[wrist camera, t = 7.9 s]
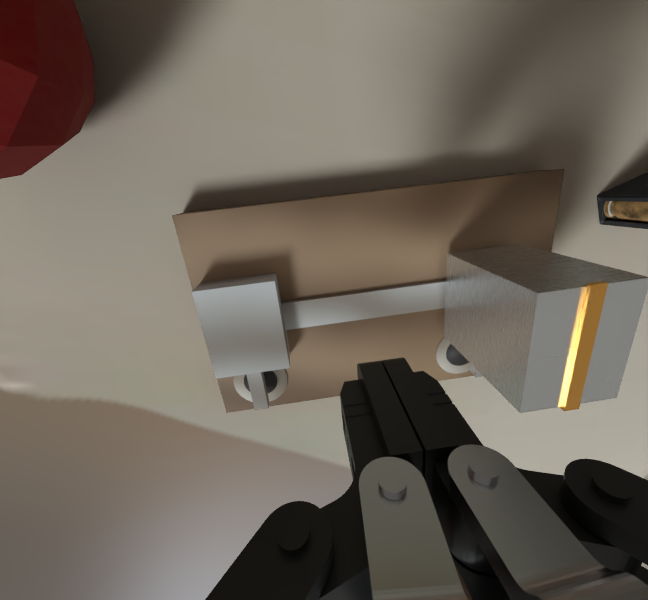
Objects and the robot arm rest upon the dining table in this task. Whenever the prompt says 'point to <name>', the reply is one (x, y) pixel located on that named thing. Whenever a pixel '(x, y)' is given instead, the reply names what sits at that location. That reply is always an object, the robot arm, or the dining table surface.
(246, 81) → the dining table surface
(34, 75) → the apple
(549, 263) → the grey latch block
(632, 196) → the ammunition clip
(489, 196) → the sliding latch plate
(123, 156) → the dining table surface
